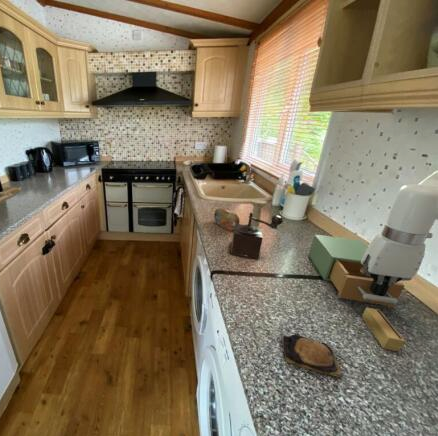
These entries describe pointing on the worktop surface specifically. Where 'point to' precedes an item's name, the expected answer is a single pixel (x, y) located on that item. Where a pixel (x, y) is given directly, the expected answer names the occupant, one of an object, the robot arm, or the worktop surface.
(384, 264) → the robot arm
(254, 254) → the manual coffee grinder
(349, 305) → the worktop surface
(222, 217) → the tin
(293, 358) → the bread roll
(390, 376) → the worktop surface
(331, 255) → the cabinet
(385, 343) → the wooden block
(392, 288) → the drawer
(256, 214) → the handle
